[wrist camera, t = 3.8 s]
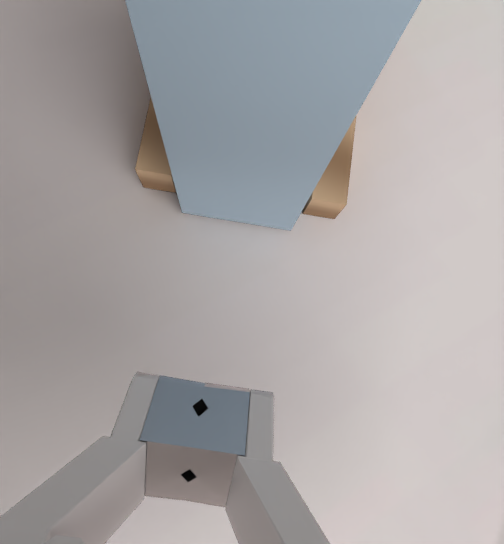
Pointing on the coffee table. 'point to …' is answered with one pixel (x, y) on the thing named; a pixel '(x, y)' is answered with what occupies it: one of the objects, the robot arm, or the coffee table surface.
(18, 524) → the robot arm
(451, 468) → the coffee table surface
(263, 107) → the block
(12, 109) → the coffee table surface
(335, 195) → the brown flat open frame
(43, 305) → the coffee table surface
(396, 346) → the coffee table surface
